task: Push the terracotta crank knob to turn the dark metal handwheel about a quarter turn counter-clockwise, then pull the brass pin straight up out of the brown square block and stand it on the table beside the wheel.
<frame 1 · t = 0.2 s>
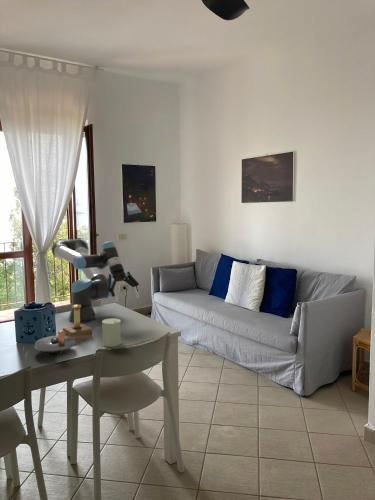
hand: (127, 299, 228), 16 cm above the table, tool tilted 35°, fingers open, 13 cm apart
hook pin: (77, 321, 210), in the brown square block
brown square block: (77, 337, 211), on the table
can: (111, 343, 203), on the table
wheel base: (55, 351, 191), on the table
handwheel: (55, 336, 190), point 8 cm above the table, hinge at 0.0°
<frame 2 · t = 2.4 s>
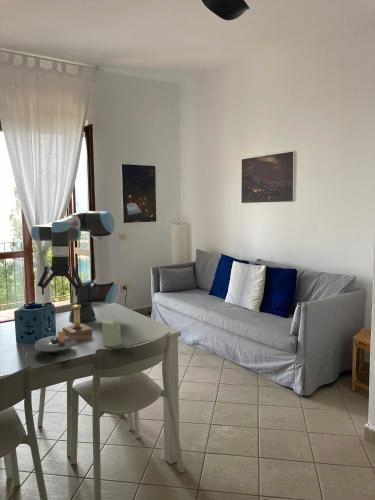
hand: (60, 302, 184), 25 cm above the table, tool pointing down, fingers open, 13 cm apart
nothing on the table moved.
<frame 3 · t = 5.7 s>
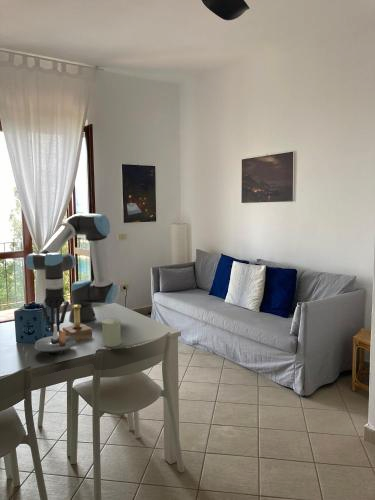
hand: (55, 338, 184), 8 cm above the table, tool pointing down, fingers closed
handwheel: (55, 336, 190), point 8 cm above the table, hinge at 3.5°, touching gripper
everything else where it was.
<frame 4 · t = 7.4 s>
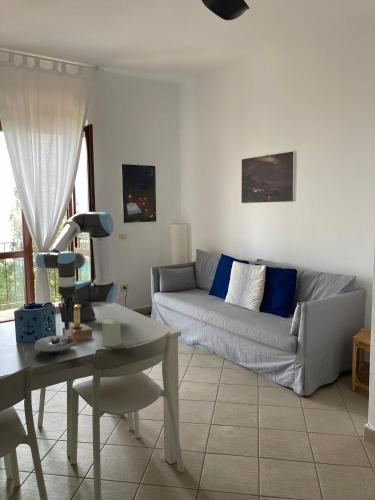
hand: (68, 335, 188), 9 cm above the table, tool pointing down, fingers closed
handwheel: (55, 336, 190), point 8 cm above the table, hinge at 51.5°, touching gripper
everything else where it was.
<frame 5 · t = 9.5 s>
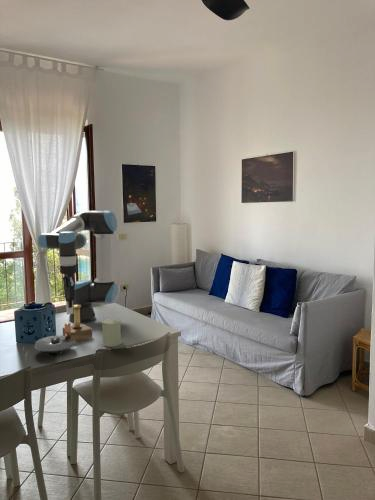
hand: (69, 313, 193), 17 cm above the table, tool pointing down, fingers closed
handwheel: (55, 336, 190), point 8 cm above the table, hinge at 100.6°
everything else where it was.
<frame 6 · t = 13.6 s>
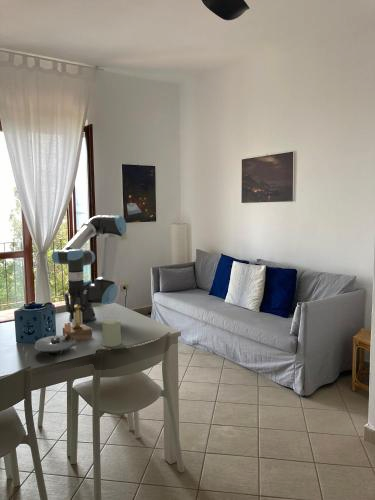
hand: (77, 324, 210), 7 cm above the table, tool pointing down, fingers closed on hook pin, 3 cm apart
hook pin: (77, 321, 210), in the brown square block, touching gripper
everything else where it was.
when the fingers open (9 cm above the table, at t = 21.1 s): hook pin drops 2 cm, on the table.
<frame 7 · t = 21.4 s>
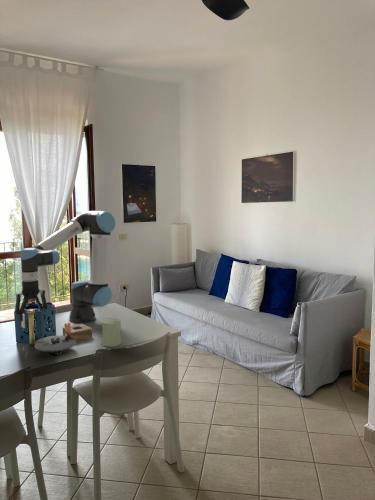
hand: (31, 325, 201), 9 cm above the table, tool pointing down, fingers open, 8 cm apart
hook pin: (32, 326, 201), on the table
everything else where it was.
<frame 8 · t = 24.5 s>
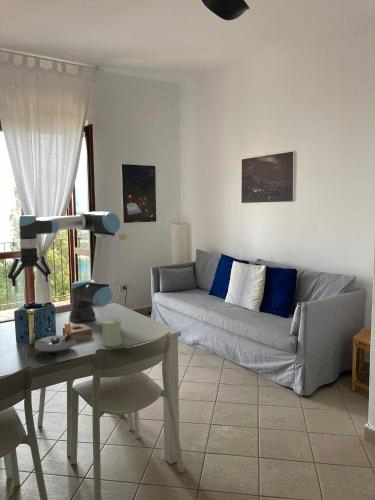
hand: (30, 290, 199), 27 cm above the table, tool pointing down, fingers open, 13 cm apart
nothing on the table moved.
at the end: handwheel at +101° (first picture: +0°); hook pin inside the target area (0.1 cm from its centre), on the table; the gripper is holding nothing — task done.
